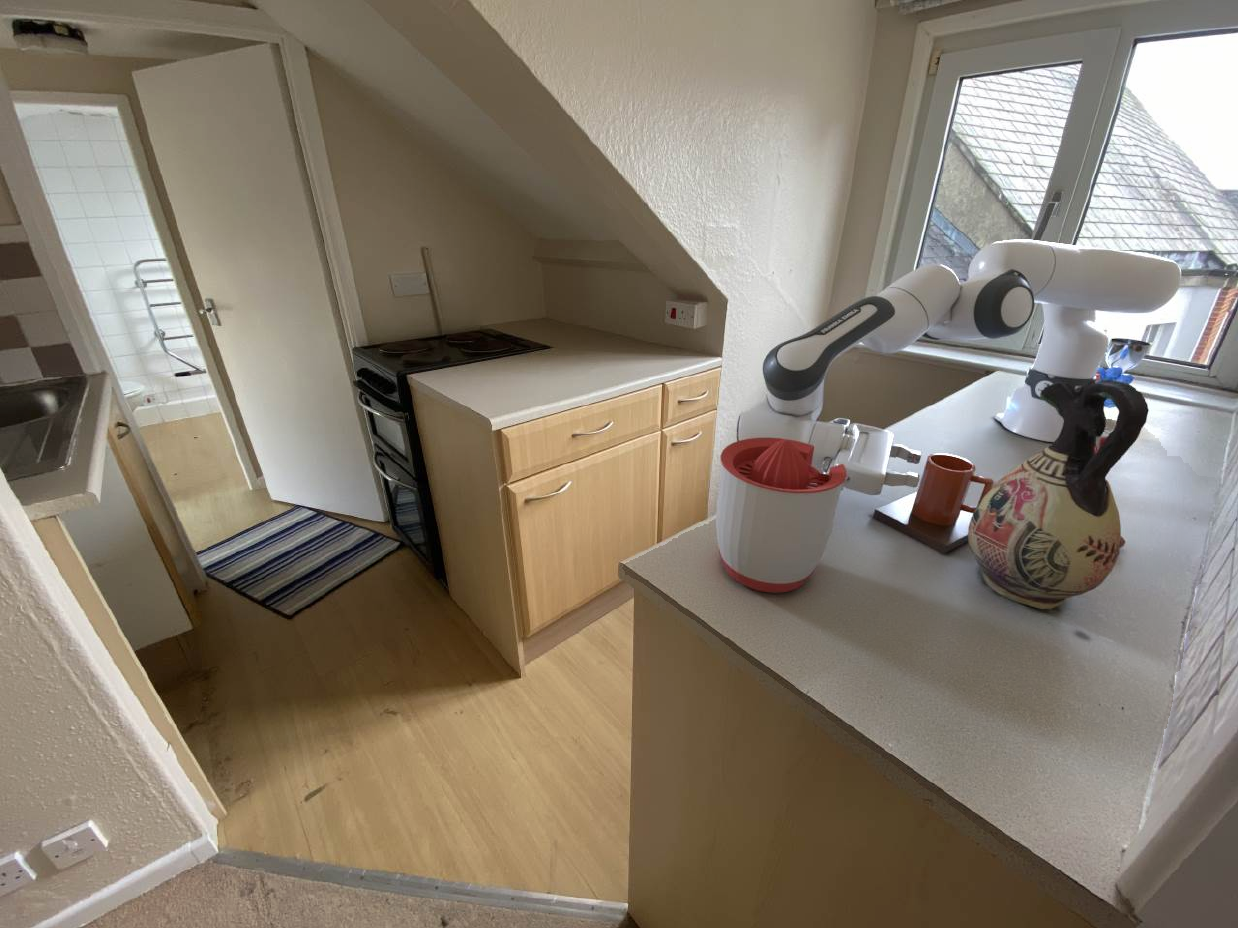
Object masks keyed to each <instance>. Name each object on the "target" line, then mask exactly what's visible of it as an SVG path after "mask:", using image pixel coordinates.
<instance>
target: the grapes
mask: <svg viewBox="0 0 1238 928" xmlns="http://www.w3.org/2000/svg"><path fill="white" fill-rule="evenodd" d="M1122 372H1123V370H1122V368H1121V367H1117V366H1115V367H1111V368H1110V367H1108V369H1105V368H1104V367H1101V366H1099V368H1098V371H1097V373H1096V374H1100V377H1099V379H1098V381H1097V382H1100V381H1105V380H1113V381H1120V382H1125V383H1128V384H1129V385H1131V384H1132V383H1133V381H1134V380H1135V379H1134V376H1133V375H1132V374H1130V373H1122ZM1115 407H1116V406H1115V404H1114V403H1113V401H1112V400H1111V399H1109V398H1107V399H1106V400H1105V402H1104V408H1108V409H1111V408H1115ZM1116 408H1117V407H1116Z"/></svg>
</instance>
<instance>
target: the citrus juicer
mask: <svg viewBox="0 0 1238 928" xmlns="http://www.w3.org/2000/svg"><path fill="white" fill-rule="evenodd" d="M813 452H814V446H812V445H809V444H806V443H803V442H799V441H794V440H788V439H781V438H751V439H745V440H740V441H737V440H736V441H735V442H732V443H730V444H728V445H727V446H725V448H724V449H723V450H722V451H721V454H720V464H721V467H720V468H721V469H720V475H719V484H718V485H719V486H718V494H717V503H716V512H715V513H716V514H715V515H716V516H715V530H716V540H717V545H718V553H719V556H720V559H721V561H722V564H723V567H724V569H725V571H726V572H727V574H728V575H729V576H730V577H731V578H732V579H733V580H735V581H737V582H738V583H740V584H741V585H743V586H745V587H747V588H750V589H751V590H755V591H757V592H758V591H759V592H764V593H772V594H773V593H775V594H776V593H777V594H778V593H787V592H790V591H794V590H796V589H799V588H800V587H801V586H802V585H804V583H805V582H807V580H808V579H809V578H810V577H811V576H812V574H813V573H814V571H815V569H816V567H817V566H818V564H819V562H821V559H822V557H823V555H824V553H825V551H826V550H827V549H826V548H827V546H828V544H829V540H830V537H831V534H832V531H833V527H834V522H835V517H836V513H837V510H838V504H839V500H840V496H841V491H844V487H843V485H842V483H843V482H844V481H845V479H846V477H847V471H846V468H845V466H844V465H843V464H840V465H837V466H834V467H831V468H830V471H829V474H824V472H823V471H821V470H817V469H816V468H814V467H813V466H811V464H812V458H813Z"/></svg>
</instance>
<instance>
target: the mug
mask: <svg viewBox="0 0 1238 928" xmlns="http://www.w3.org/2000/svg"><path fill="white" fill-rule="evenodd" d="M976 470H977V469H976V465H975V464H974V463H973V462H972V461H970V460H968V459H967V458H964V457H961V456H958V455H954V454H949V453H938V452H937V453H931V454H929V455H927V457H926V461H925V464H924V467H923V470H922V474H921V477H920V479H919V483H918V486H917V490H916V492H917V493H916V496H915V500H914V503H913V507H912V512H913V513H914V515H916V516H917V517H918V518H920V519H922V520H924V521H926V522H929V523H932V524H936V525H945V526H946V525H953V524H955V523H956V522H957V519H958V518H959V515H960V512H961V511H965V512H970V513H974V511H975V509H976V508H977V506H978V504H979V503H980V502H981V500H982V498H983V497H984V496H985V495H986V494H987V492H988V491H989V490H990V489H991V487H992V486H993V485H994V484H995V480H994V479H993V478H989V477H983V476H979V475H975V473H976ZM972 483H977V484H982V485H984V486H983V488H982V490H981V493H980V496H979V500H978V502H977V506H976V507H975V506H972V505H967V504H964V503H965V500H966V497H967V496H968V495H967V494H968V492H969V490H970V487H971V484H972Z"/></svg>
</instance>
